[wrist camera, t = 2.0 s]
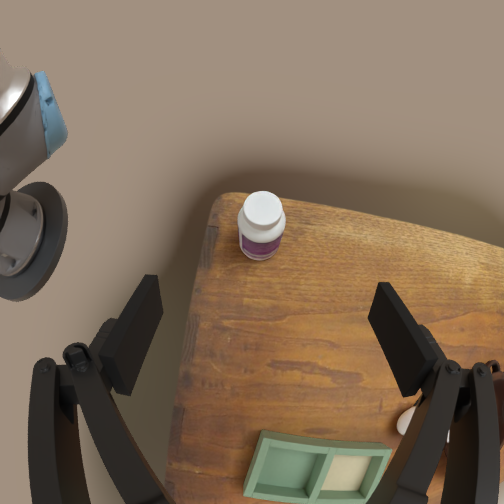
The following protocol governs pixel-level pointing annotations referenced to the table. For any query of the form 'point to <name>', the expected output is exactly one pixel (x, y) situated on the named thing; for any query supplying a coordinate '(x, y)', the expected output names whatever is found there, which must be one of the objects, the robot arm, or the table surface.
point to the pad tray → (314, 469)
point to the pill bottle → (261, 225)
